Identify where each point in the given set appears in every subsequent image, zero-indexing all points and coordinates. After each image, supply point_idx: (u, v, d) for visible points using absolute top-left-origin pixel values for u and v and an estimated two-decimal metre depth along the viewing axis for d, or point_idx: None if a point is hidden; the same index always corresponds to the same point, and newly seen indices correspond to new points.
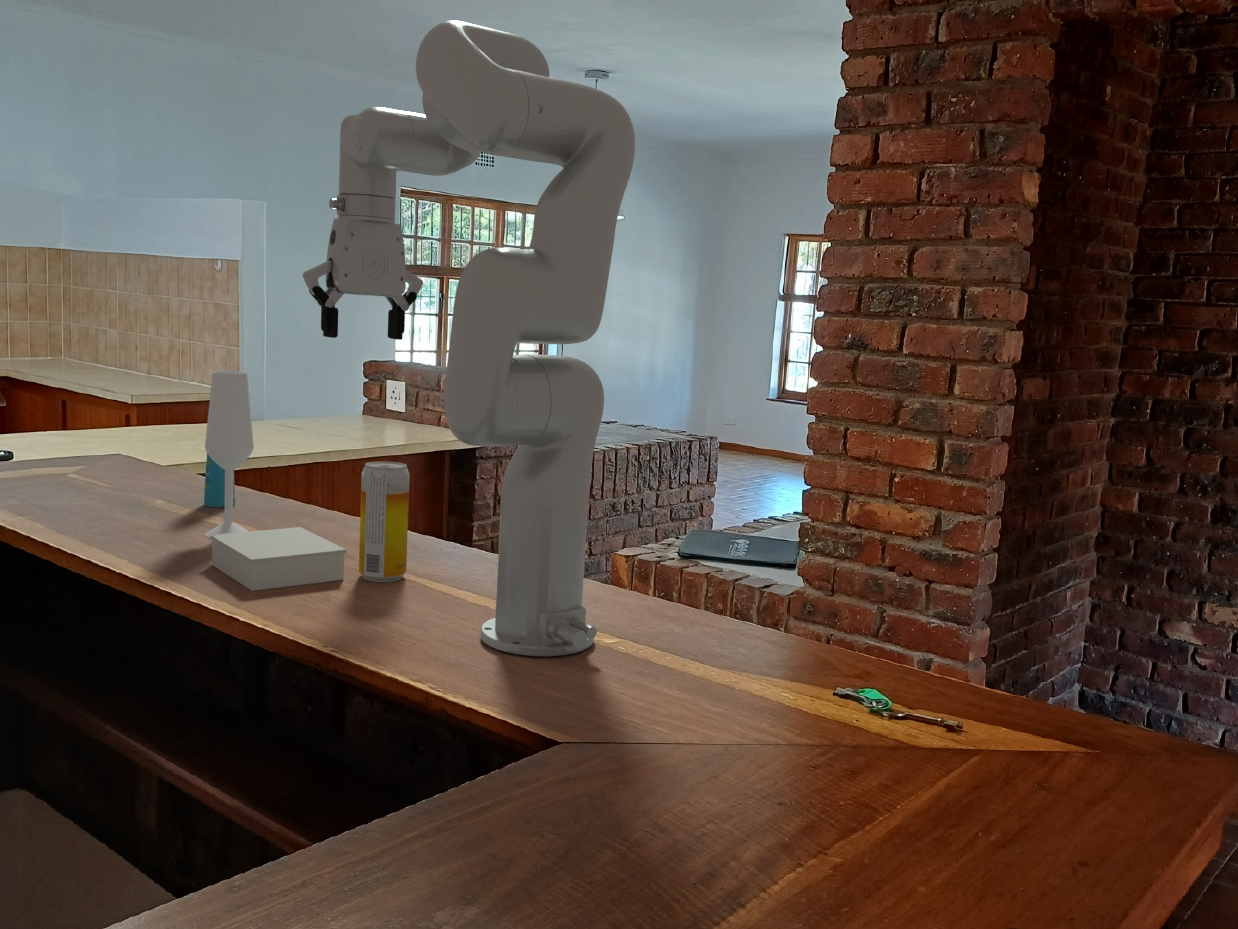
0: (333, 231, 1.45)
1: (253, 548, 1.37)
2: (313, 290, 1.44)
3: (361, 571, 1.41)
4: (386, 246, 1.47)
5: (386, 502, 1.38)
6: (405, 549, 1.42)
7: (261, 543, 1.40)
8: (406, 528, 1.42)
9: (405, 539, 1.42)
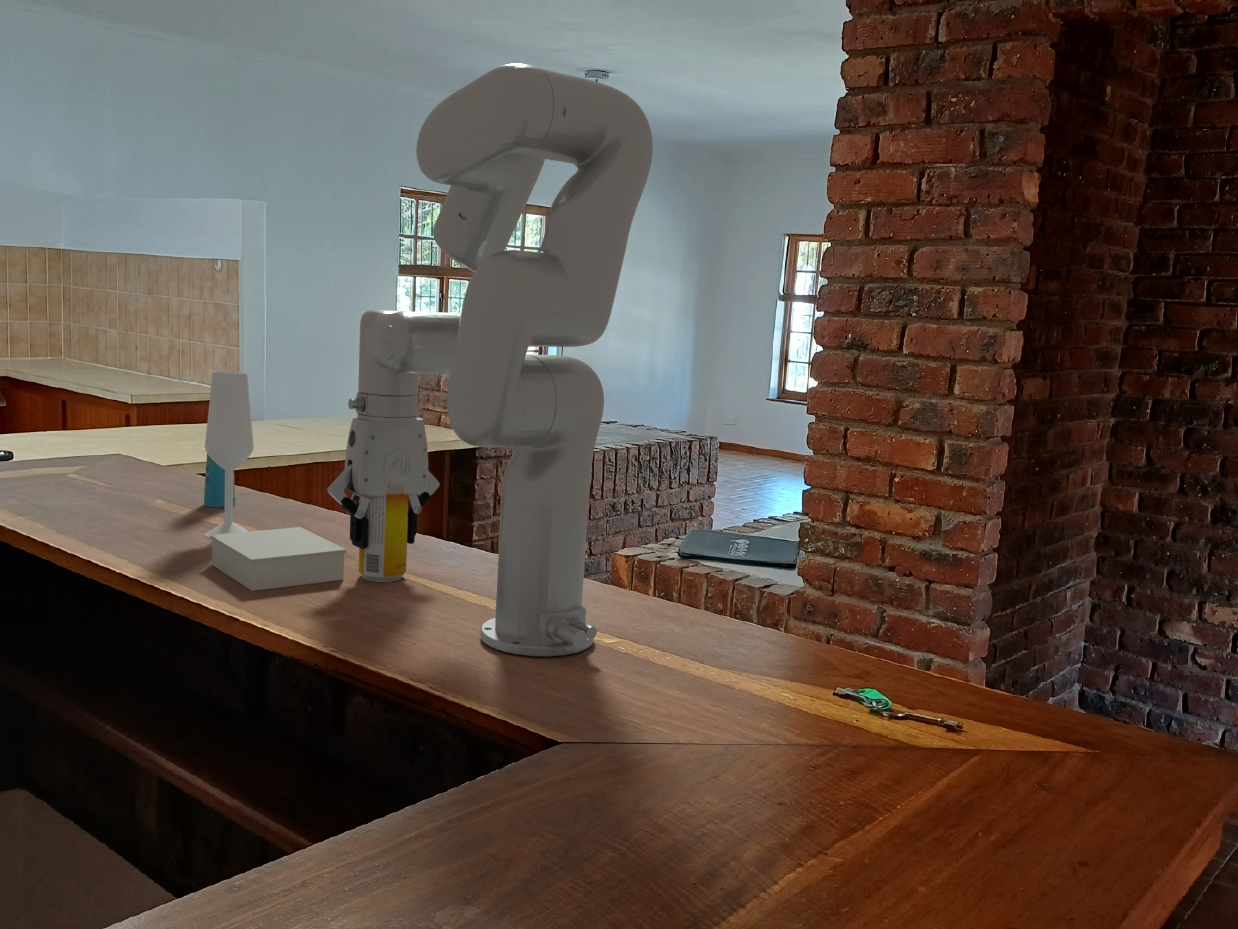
0: (352, 431, 1.38)
1: (253, 548, 1.37)
2: (342, 504, 1.37)
3: (361, 571, 1.41)
4: (408, 445, 1.39)
5: (386, 502, 1.38)
6: (405, 549, 1.42)
7: (261, 543, 1.40)
8: (406, 528, 1.42)
9: (405, 539, 1.42)
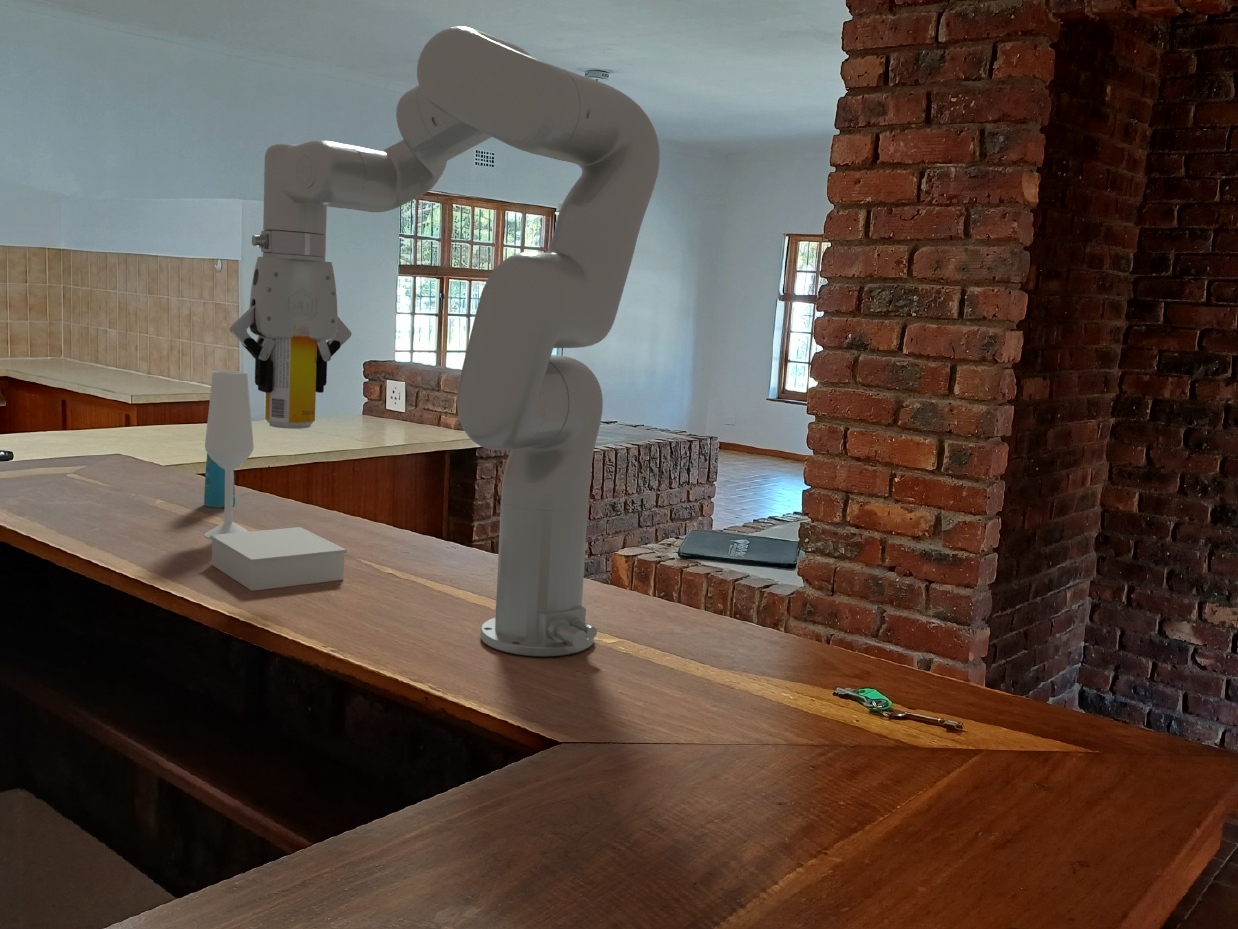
0: (256, 270, 1.34)
1: (253, 548, 1.37)
2: (245, 344, 1.33)
3: (267, 417, 1.37)
4: (315, 286, 1.35)
5: (291, 344, 1.35)
6: (313, 396, 1.38)
7: (261, 543, 1.40)
8: (314, 374, 1.38)
9: (313, 385, 1.38)
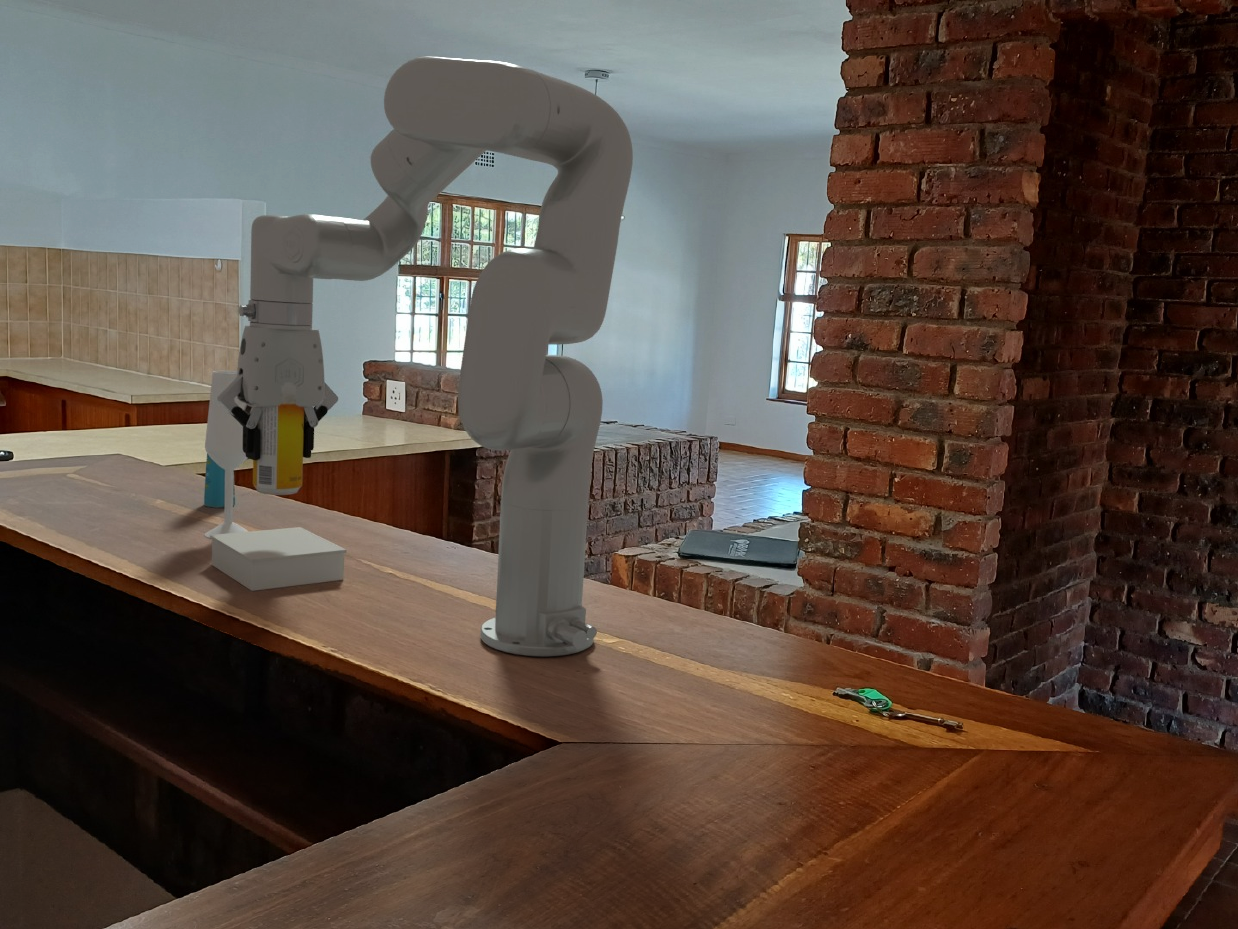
0: (244, 339, 1.35)
1: (253, 548, 1.37)
2: (233, 413, 1.34)
3: (254, 483, 1.38)
4: (302, 354, 1.37)
5: (278, 412, 1.36)
6: (300, 462, 1.39)
7: (261, 543, 1.40)
8: (301, 440, 1.39)
9: (300, 452, 1.39)
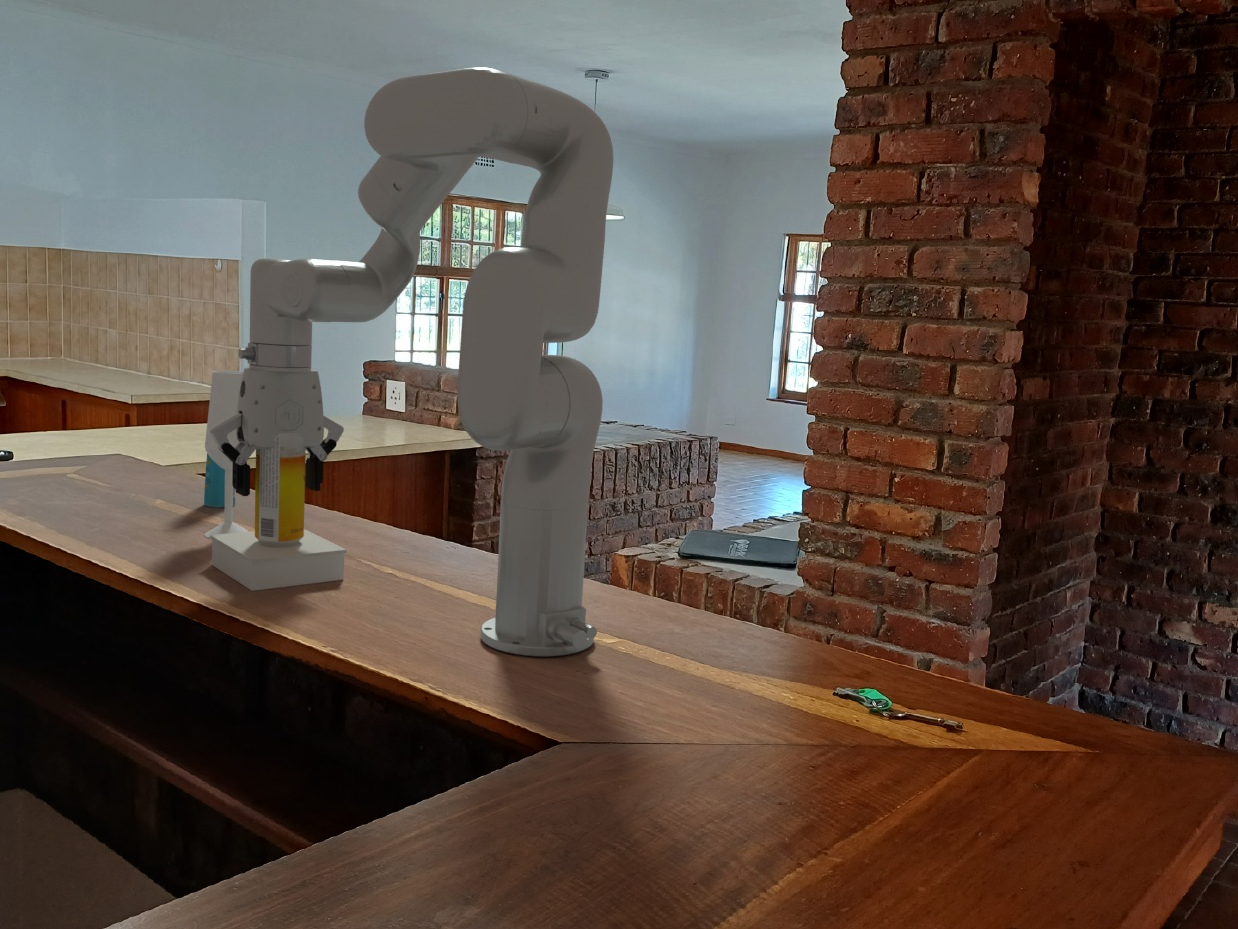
0: (243, 382, 1.36)
1: (253, 548, 1.37)
2: (222, 448, 1.34)
3: (256, 535, 1.39)
4: (301, 396, 1.37)
5: (280, 466, 1.37)
6: (301, 513, 1.40)
7: None
8: (302, 492, 1.40)
9: (301, 503, 1.40)
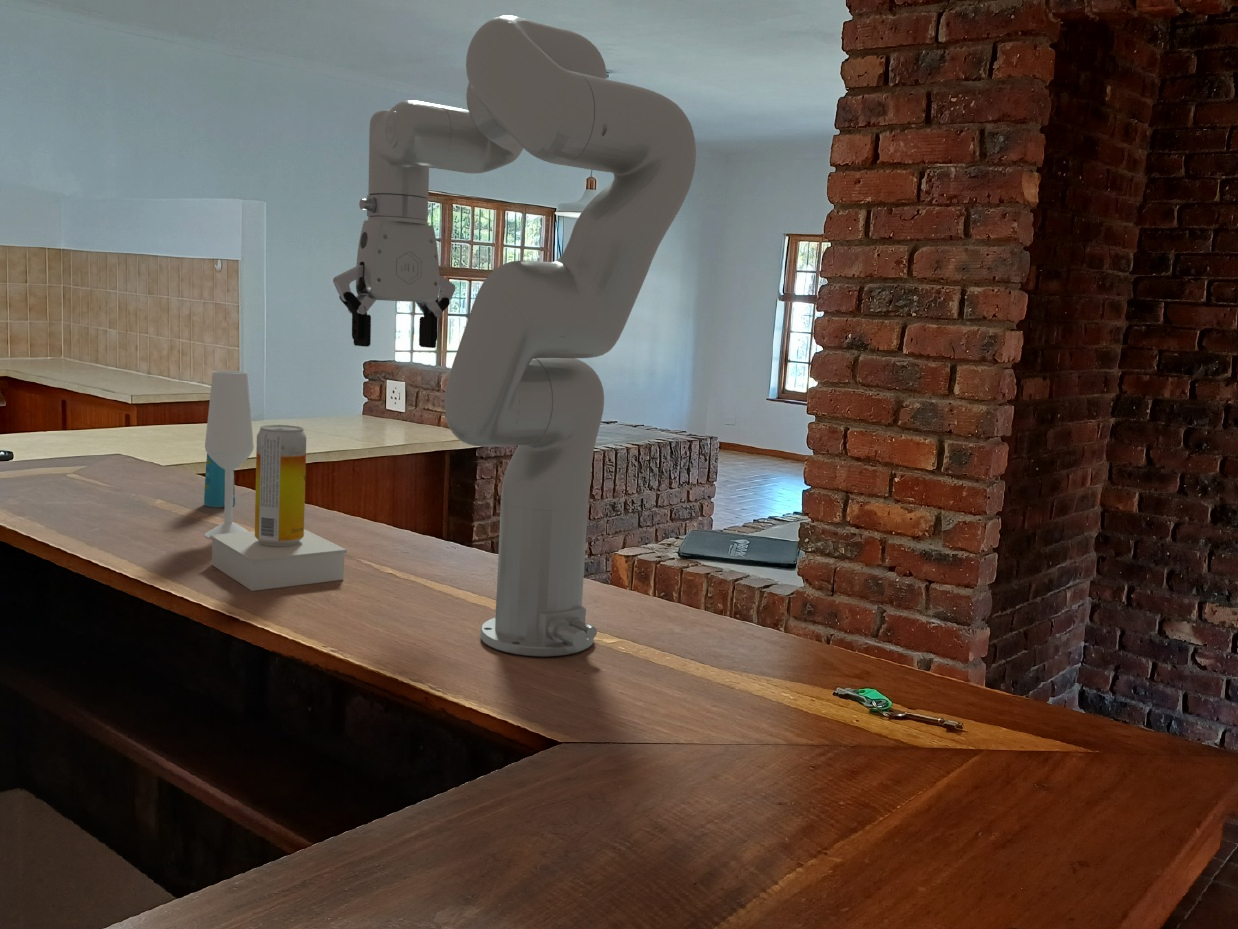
0: (364, 233, 1.37)
1: (253, 548, 1.37)
2: (344, 296, 1.35)
3: (256, 535, 1.39)
4: (420, 249, 1.39)
5: (280, 465, 1.37)
6: (302, 513, 1.40)
7: None
8: (303, 492, 1.40)
9: (302, 503, 1.40)
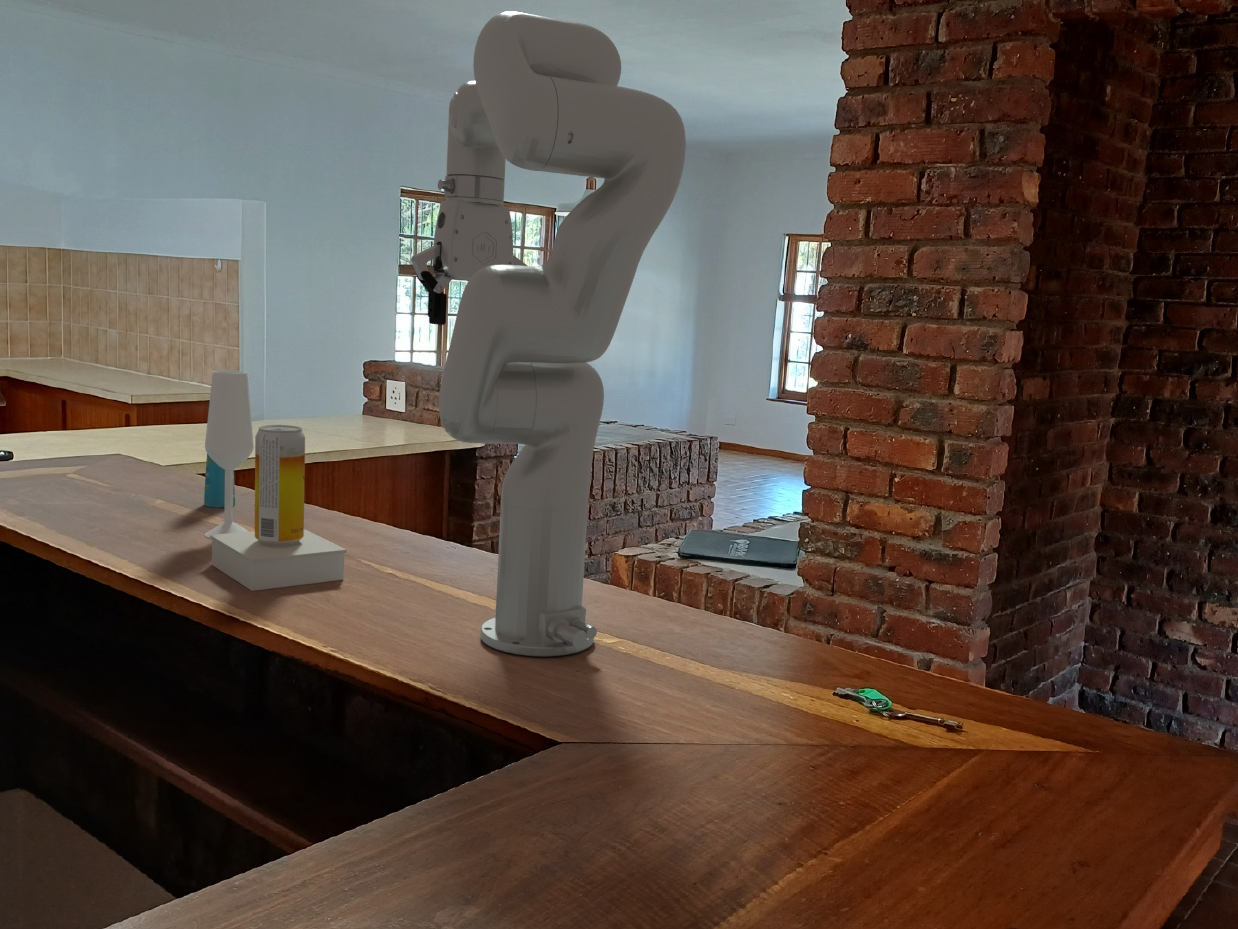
0: (441, 214, 1.40)
1: (253, 548, 1.37)
2: (422, 275, 1.38)
3: (256, 536, 1.39)
4: (495, 229, 1.41)
5: (280, 466, 1.37)
6: (301, 513, 1.40)
7: None
8: (302, 492, 1.40)
9: (301, 503, 1.40)
